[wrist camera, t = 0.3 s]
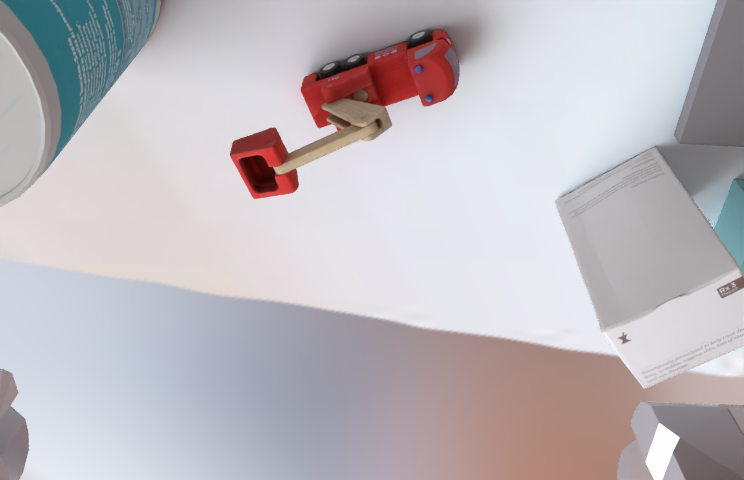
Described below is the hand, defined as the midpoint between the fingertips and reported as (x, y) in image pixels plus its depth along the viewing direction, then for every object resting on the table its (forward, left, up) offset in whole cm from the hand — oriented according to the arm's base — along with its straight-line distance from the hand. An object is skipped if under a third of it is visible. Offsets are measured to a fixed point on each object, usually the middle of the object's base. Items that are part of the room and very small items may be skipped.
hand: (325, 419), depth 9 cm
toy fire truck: (+12, -1, -39) cm, 40 cm away
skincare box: (+20, +18, -39) cm, 47 cm away
